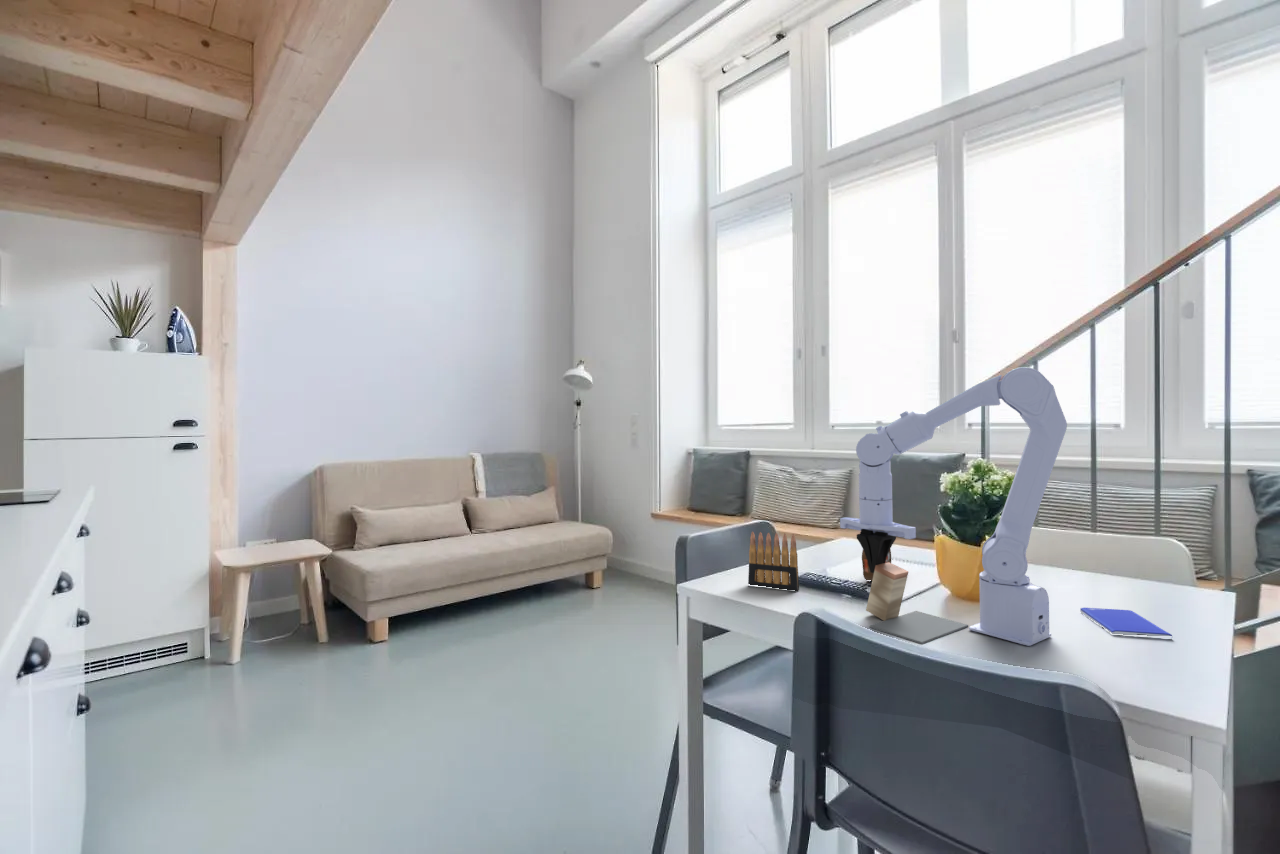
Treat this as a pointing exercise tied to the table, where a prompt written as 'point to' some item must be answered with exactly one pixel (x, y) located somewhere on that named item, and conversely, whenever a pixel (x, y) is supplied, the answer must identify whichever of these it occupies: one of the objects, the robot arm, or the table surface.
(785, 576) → the ammunition clip
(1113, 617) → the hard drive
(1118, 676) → the table surface
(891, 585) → the block
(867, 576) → the tin
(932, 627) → the mat
